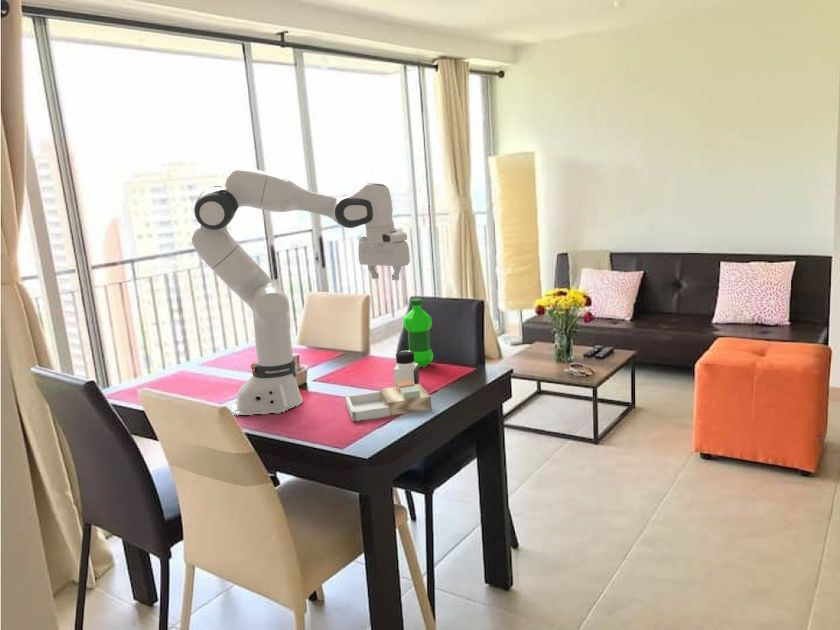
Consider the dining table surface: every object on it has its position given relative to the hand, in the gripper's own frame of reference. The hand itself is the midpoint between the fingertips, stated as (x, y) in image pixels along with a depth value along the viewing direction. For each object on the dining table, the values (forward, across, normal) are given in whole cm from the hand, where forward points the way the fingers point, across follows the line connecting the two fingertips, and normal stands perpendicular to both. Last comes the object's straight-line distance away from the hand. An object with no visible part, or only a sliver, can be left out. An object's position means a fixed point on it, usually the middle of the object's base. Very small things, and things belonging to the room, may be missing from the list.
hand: (385, 279), depth 210 cm
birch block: (+38, +10, -6) cm, 40 cm away
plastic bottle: (+38, -16, +27) cm, 50 cm away
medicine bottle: (+38, -2, +7) cm, 39 cm away
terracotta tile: (+34, +8, -4) cm, 35 cm away
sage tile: (+34, +14, -7) cm, 37 cm away
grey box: (+38, +4, -17) cm, 41 cm away
